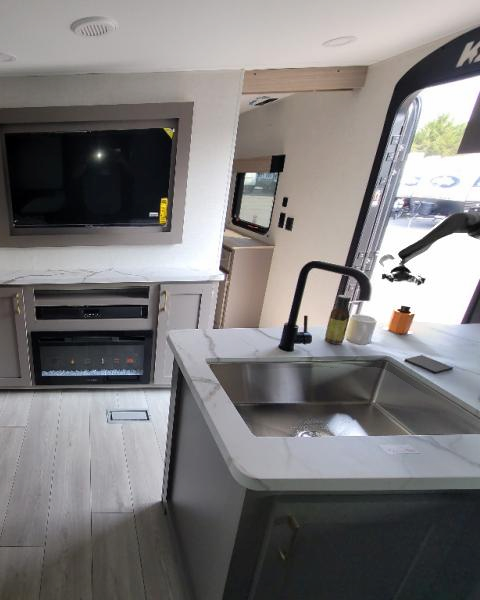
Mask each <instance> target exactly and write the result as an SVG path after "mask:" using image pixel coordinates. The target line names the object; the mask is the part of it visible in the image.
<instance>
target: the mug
mask: <svg viewBox="0 0 480 600" xmlns="http://www.w3.org/2000/svg"><path fill="white" fill-rule="evenodd" d="M377 322H378V320H377V319H376V318H375V317H373V316H370V315H365V314H359V313H355V314H354V313H353V314H350V317H349V321H348V325H347V329H346V333H345V337H344V338H345V340H346V341H347V342H349V343H350V344H355V345H359V346H367V345H370V343H371V341H372V338H373V335H374V332H375V328H376V325H377Z"/></svg>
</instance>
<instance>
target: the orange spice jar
mask: <svg viewBox="0 0 480 600" xmlns="http://www.w3.org/2000/svg"><path fill="white" fill-rule="evenodd" d="M400 308H401V307H399V308H393V310H392V312H391V313H392V314H391V316H390V319H389V322H388V325H387V327H388V330H390V331H389V332H391V331H392V332H391V333H394V332H395V333H394V334H396V333H401V334H405V335H407V334H406V333H408V332H410V329H411V326H412V323H413V320H414V318H415V315H416V313H415V312H414V311H413V310H411V309H410V310H409V313H401V312H399V311H400ZM388 330H387V331H388Z"/></svg>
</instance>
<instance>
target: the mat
mask: <svg viewBox="0 0 480 600" xmlns="http://www.w3.org/2000/svg"><path fill="white" fill-rule="evenodd" d="M404 362H406V363H408V364H411V365H413V366H415V367H418V368H420V369H422V370H425V371H427V372H429V373H432V374H434V375H436V374H440V373H444V372H447V371H451V370H453V368H454V367H453V366H451V365H448V364H446V363H443V362H440V361H438V360H436V359H433V358H431V357H428V356H425V355H423V354H420V355H416V356H412V357H407V358H404Z"/></svg>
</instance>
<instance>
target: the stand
mask: <svg viewBox="0 0 480 600" xmlns="http://www.w3.org/2000/svg"><path fill="white" fill-rule="evenodd" d="M411 307H412V305H411V304H408V303H402V304H401V305H400V307H399V308H400V311H399V312H401V313H409V310H410V311H411ZM382 329H383V330H386V331H388V332H391V333H394V334H397V335H400V336H404V335H409V334H413V332H412V331H409V332H408V333H406V334H401V333H395V332H392V331H390V330H388V326H387V327H382Z"/></svg>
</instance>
